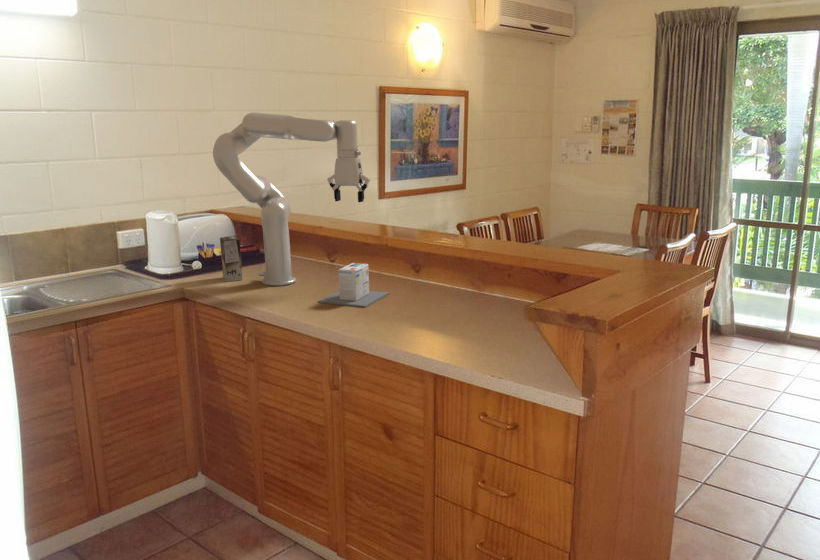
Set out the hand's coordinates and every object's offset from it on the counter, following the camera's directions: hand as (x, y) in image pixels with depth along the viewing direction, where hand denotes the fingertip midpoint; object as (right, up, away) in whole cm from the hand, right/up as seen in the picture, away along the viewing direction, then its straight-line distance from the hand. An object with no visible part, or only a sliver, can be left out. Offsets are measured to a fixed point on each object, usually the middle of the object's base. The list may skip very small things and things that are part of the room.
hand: (349, 201), depth 255 cm
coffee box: (-47, -29, +13) cm, 57 cm away
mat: (+3, -36, -18) cm, 40 cm away
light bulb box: (+4, -35, -19) cm, 40 cm away
